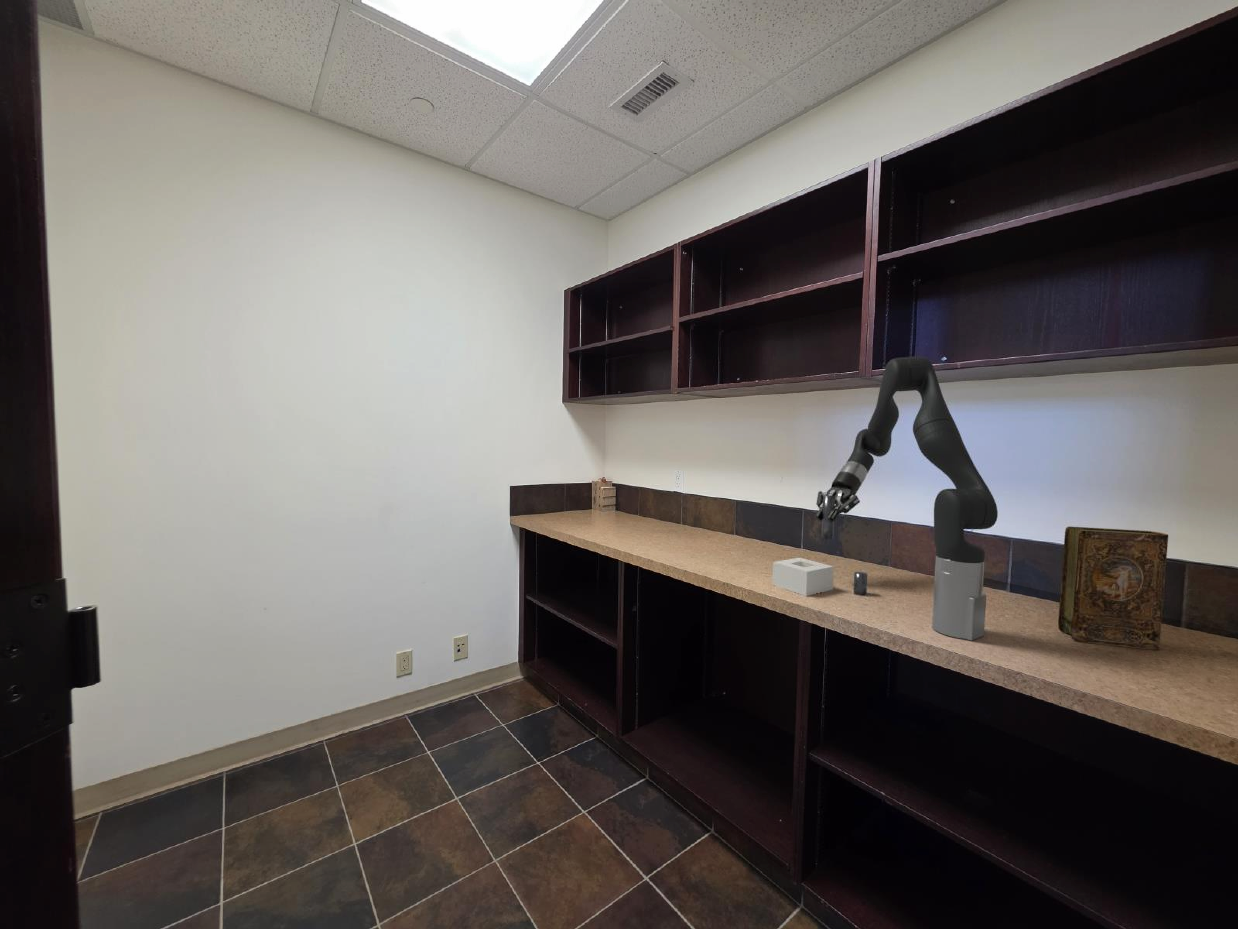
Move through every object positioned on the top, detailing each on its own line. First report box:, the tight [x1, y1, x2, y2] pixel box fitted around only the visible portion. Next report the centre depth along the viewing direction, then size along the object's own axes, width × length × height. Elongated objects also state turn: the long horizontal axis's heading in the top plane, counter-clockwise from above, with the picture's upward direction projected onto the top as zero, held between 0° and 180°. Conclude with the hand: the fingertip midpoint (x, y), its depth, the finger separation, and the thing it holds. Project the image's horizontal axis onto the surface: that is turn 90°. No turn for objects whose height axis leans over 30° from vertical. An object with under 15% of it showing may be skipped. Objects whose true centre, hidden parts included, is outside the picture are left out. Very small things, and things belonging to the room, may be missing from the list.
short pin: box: [852, 571, 869, 597], centre depth 142 cm, size 3×3×6 cm
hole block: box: [771, 557, 835, 597], centre depth 147 cm, size 12×12×7 cm
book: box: [1057, 526, 1169, 651], centre depth 110 cm, size 16×6×25 cm, turn 73°
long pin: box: [821, 495, 836, 540], centre depth 152 cm, size 3×3×13 cm
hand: (824, 519), depth 151 cm, fingers closed on long pin, 3 cm apart
